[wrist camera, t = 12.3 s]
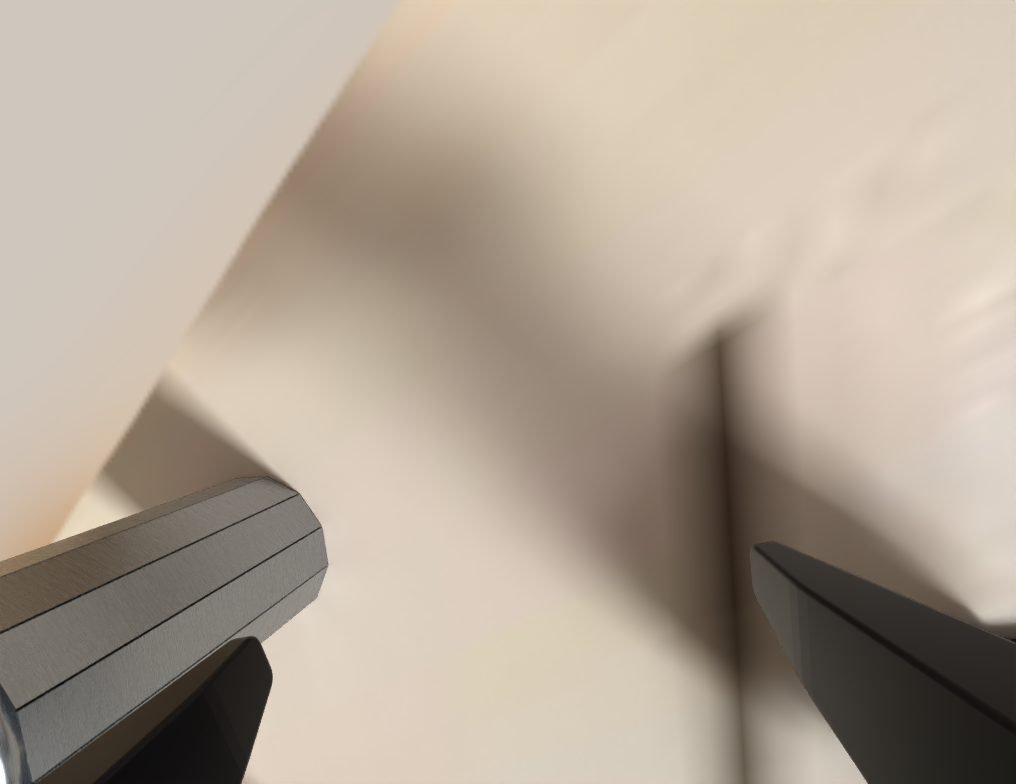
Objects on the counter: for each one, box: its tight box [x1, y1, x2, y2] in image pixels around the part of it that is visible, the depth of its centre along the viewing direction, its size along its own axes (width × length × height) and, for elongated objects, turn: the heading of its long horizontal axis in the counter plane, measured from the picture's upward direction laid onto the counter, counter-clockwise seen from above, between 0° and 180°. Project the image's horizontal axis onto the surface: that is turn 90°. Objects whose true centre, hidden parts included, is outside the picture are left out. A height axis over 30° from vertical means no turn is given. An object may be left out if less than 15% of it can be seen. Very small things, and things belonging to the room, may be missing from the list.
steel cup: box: [0, 476, 328, 784], centre depth 19 cm, size 7×7×13 cm
